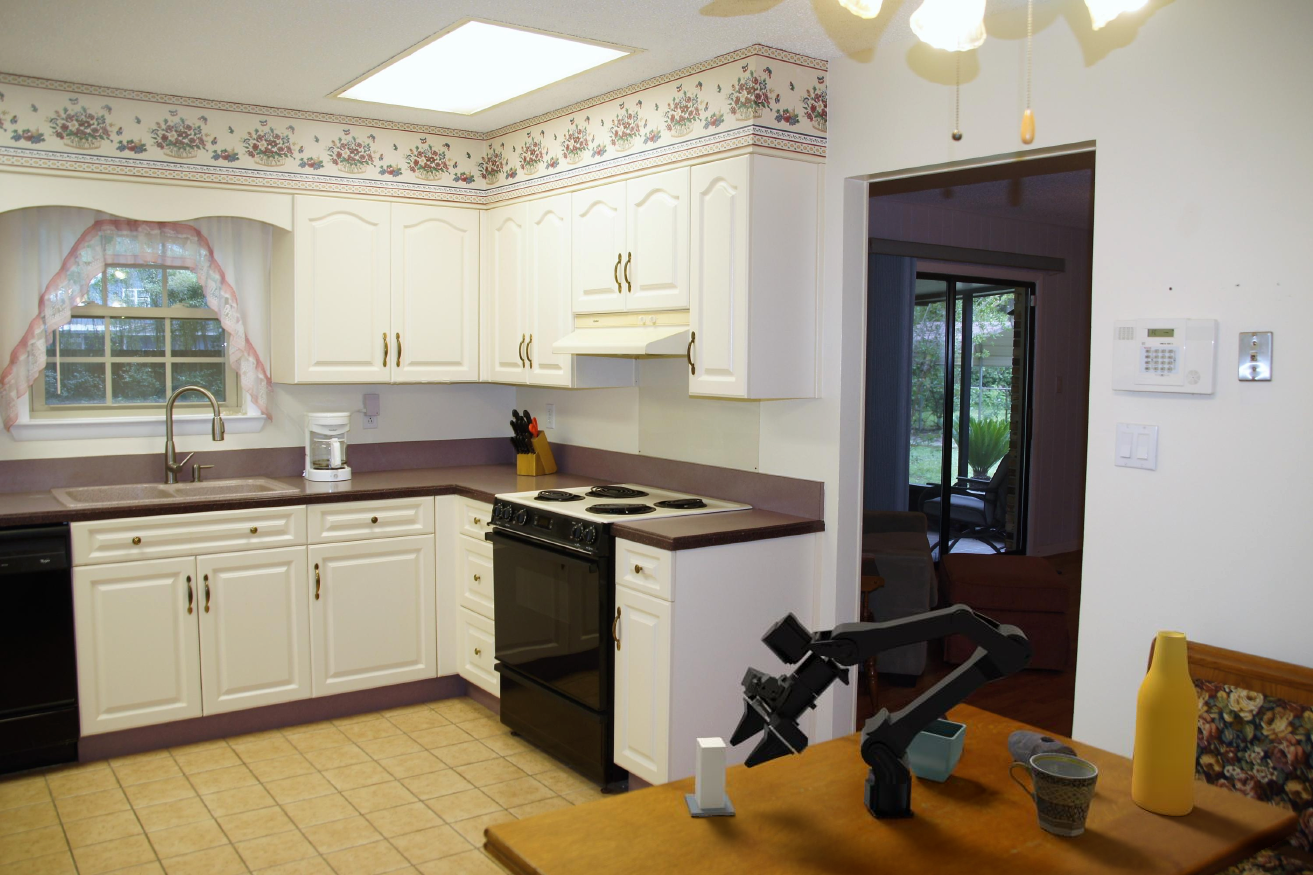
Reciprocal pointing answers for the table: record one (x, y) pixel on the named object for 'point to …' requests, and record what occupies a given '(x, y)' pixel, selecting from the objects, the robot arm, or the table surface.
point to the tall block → (710, 773)
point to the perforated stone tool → (1035, 746)
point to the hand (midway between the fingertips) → (738, 754)
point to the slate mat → (697, 811)
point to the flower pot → (936, 750)
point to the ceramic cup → (1060, 791)
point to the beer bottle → (1166, 731)
